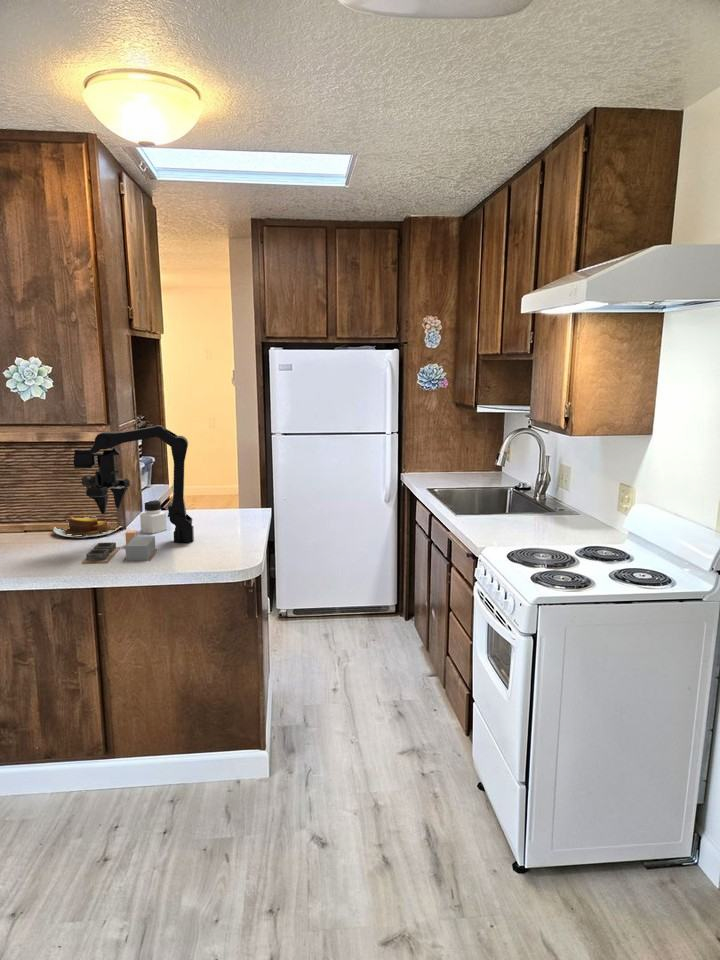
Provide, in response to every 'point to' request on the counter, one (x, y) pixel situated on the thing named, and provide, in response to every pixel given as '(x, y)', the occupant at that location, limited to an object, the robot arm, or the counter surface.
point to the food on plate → (85, 527)
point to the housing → (140, 548)
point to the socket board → (101, 553)
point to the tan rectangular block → (130, 535)
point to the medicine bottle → (153, 518)
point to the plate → (150, 557)
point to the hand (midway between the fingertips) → (110, 510)
